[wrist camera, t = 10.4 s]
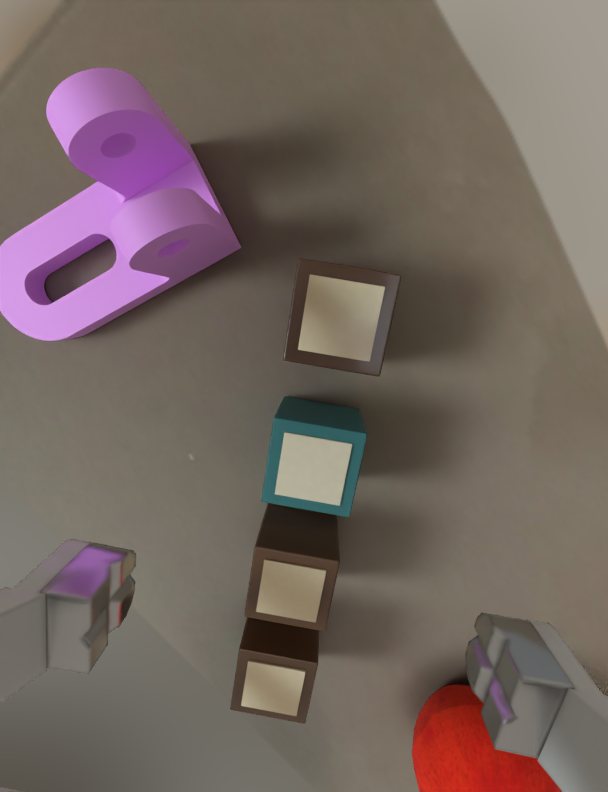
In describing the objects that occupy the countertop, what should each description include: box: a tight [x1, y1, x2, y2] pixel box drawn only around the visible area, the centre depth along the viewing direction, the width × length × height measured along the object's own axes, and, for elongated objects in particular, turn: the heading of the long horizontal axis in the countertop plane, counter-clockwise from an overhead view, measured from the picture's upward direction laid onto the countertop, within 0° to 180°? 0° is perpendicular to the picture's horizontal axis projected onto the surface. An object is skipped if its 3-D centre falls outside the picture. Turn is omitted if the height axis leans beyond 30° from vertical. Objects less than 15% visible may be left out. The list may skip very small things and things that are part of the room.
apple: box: [412, 684, 562, 792], centre depth 22 cm, size 8×8×7 cm
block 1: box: [245, 503, 340, 631], centre depth 21 cm, size 4×4×4 cm
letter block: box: [261, 396, 367, 517], centre depth 20 cm, size 4×4×4 cm
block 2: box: [230, 617, 319, 724], centre depth 23 cm, size 4×4×4 cm
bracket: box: [0, 68, 241, 341], centre depth 17 cm, size 13×6×7 cm, turn 116°
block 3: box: [283, 258, 401, 376], centre depth 18 cm, size 4×4×4 cm
